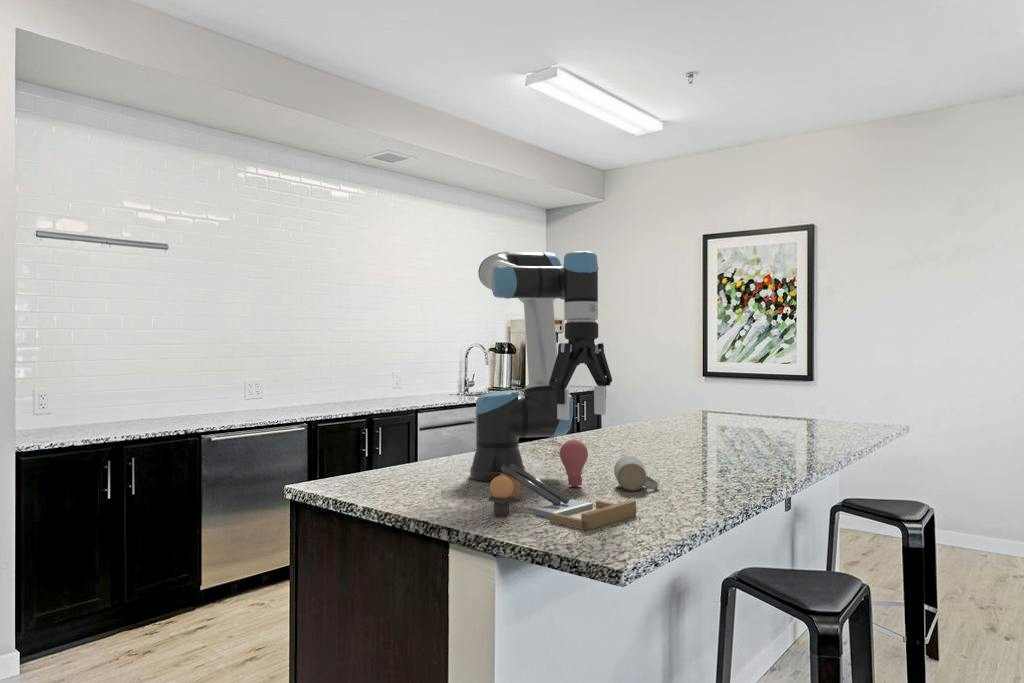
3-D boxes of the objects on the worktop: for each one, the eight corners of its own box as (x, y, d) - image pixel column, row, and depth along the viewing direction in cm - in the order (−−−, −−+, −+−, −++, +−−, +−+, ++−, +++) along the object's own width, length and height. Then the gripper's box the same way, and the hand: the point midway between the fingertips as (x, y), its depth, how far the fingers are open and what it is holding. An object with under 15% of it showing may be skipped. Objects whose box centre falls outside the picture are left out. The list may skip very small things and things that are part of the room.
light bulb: (555, 488, 170) (555, 440, 170) (566, 483, 176) (566, 437, 176) (582, 491, 166) (581, 442, 166) (592, 485, 172) (591, 438, 173)
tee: (488, 514, 144) (488, 497, 144) (502, 511, 146) (501, 494, 146) (501, 518, 141) (501, 500, 141) (515, 514, 144) (514, 496, 144)
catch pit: (549, 521, 138) (549, 506, 138) (598, 507, 149) (598, 494, 149) (587, 530, 131) (587, 515, 131) (636, 515, 142) (636, 501, 142)
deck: (535, 514, 144) (534, 508, 144) (571, 504, 152) (571, 499, 152) (556, 519, 139) (556, 513, 139) (592, 509, 148) (592, 503, 148)
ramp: (500, 500, 157) (499, 465, 157) (513, 497, 160) (513, 462, 160) (556, 513, 144) (556, 474, 144) (570, 509, 147) (569, 472, 147)
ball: (485, 499, 144) (484, 475, 144) (502, 495, 147) (501, 472, 147) (501, 503, 140) (501, 479, 140) (518, 499, 144) (518, 475, 144)
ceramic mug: (617, 492, 165) (617, 460, 165) (613, 485, 173) (614, 455, 173) (661, 493, 164) (661, 461, 164) (655, 486, 172) (656, 455, 172)
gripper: (559, 319, 139) (560, 423, 139) (626, 322, 157) (627, 413, 157) (532, 320, 144) (533, 420, 144) (599, 323, 162) (600, 411, 162)
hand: (582, 416), depth 151 cm, fingers open, 13 cm apart
